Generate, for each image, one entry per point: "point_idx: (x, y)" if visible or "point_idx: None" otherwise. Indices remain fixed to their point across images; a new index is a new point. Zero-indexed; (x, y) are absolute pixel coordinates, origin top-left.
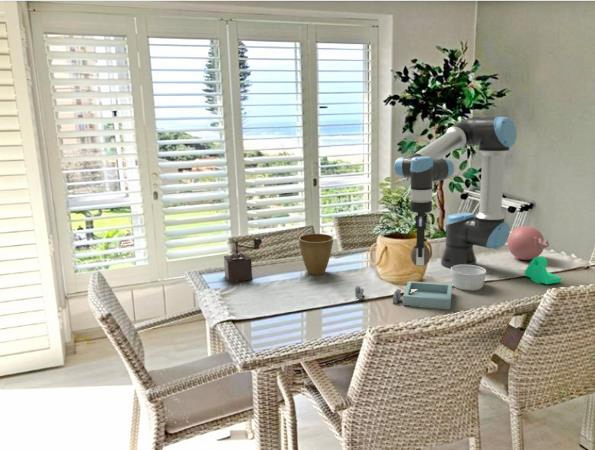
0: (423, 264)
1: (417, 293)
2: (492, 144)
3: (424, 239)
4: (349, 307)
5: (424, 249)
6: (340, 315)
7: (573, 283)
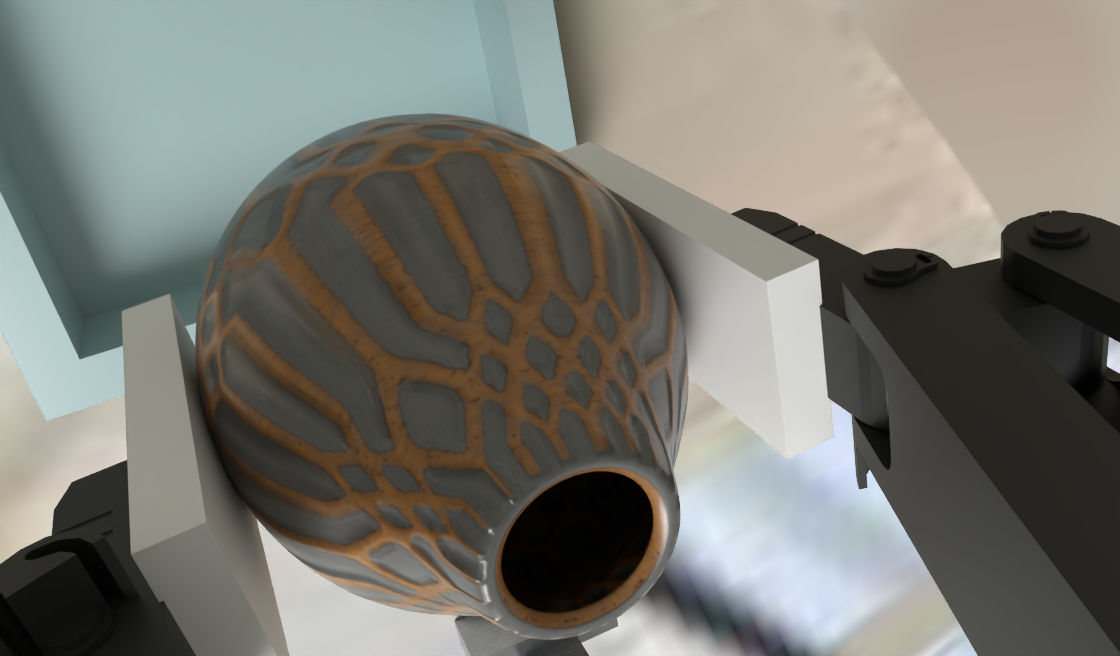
0: (598, 155)
1: (167, 200)
2: None
3: (100, 635)
4: (743, 541)
5: (638, 281)
6: (882, 503)
7: None
